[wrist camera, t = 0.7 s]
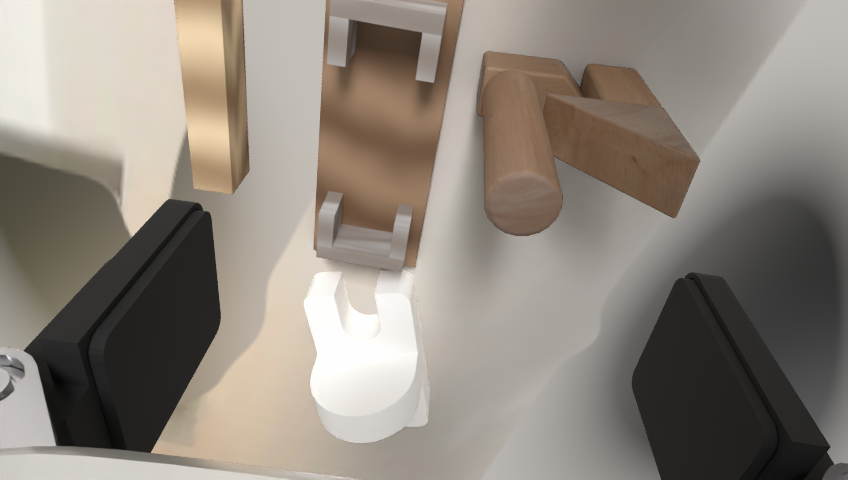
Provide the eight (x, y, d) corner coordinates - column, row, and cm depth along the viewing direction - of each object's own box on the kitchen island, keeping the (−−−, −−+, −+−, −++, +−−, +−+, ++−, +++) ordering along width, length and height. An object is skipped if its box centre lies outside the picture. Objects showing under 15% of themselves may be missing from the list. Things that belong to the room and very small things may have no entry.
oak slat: (196, -47, 38) (169, -38, 34) (241, -40, 38) (218, -29, 35) (213, 164, 47) (193, 188, 44) (249, 170, 47) (232, 194, 44)
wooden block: (621, 116, 41) (700, 263, 27) (476, 98, 42) (474, 235, 27) (637, 66, 39) (732, 196, 25) (484, 48, 40) (486, 166, 25)
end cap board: (332, -55, 37) (315, -45, 33) (469, -30, 37) (467, -17, 33) (316, 243, 50) (303, 274, 47) (415, 260, 50) (410, 292, 47)
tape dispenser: (345, 399, 63) (323, 490, 54) (310, 270, 53) (276, 356, 44) (431, 399, 61) (423, 491, 53) (412, 267, 51) (398, 354, 42)
